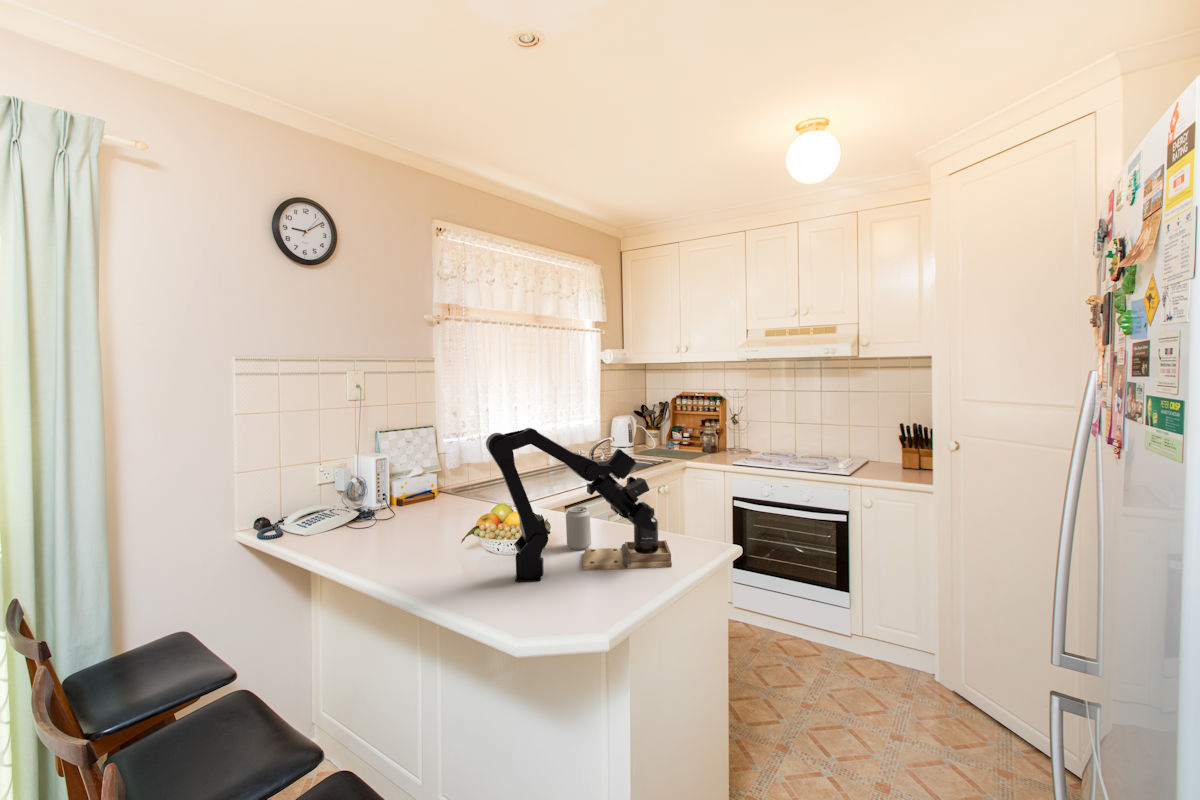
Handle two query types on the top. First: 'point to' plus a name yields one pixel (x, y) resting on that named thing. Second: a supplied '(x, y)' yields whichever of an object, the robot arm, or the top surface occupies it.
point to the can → (578, 528)
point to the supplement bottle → (646, 538)
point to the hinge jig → (626, 557)
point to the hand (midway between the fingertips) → (650, 526)
